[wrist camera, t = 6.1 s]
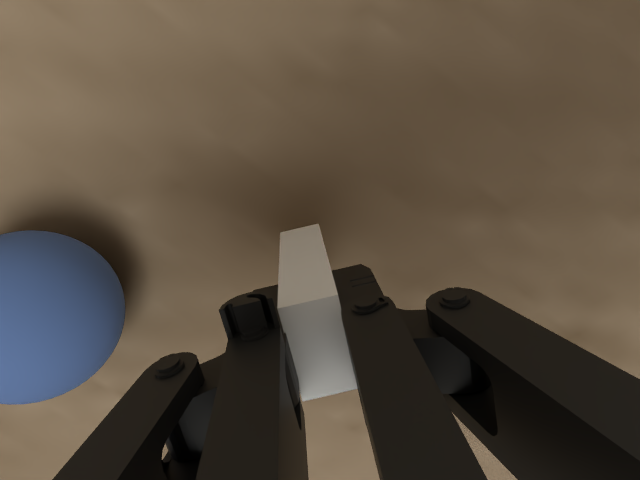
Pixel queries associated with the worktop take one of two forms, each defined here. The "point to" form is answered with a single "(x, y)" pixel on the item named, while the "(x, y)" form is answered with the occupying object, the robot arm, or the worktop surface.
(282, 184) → the worktop surface
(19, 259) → the ball
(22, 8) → the worktop surface
